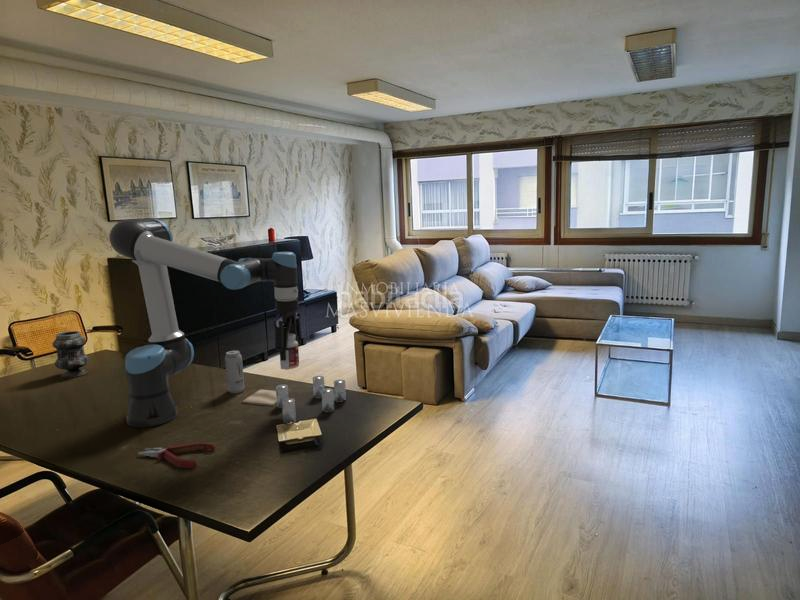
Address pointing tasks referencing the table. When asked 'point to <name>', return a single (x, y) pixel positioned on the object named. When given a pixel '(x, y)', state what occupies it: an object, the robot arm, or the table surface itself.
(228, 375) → the energy drink can
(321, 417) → the table surface
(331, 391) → the cylinder
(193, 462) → the pliers
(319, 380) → the cylinder
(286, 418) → the spacer near
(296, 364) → the pill bottle
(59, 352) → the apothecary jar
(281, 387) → the cylinder
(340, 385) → the grey cylinder
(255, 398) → the coaster
